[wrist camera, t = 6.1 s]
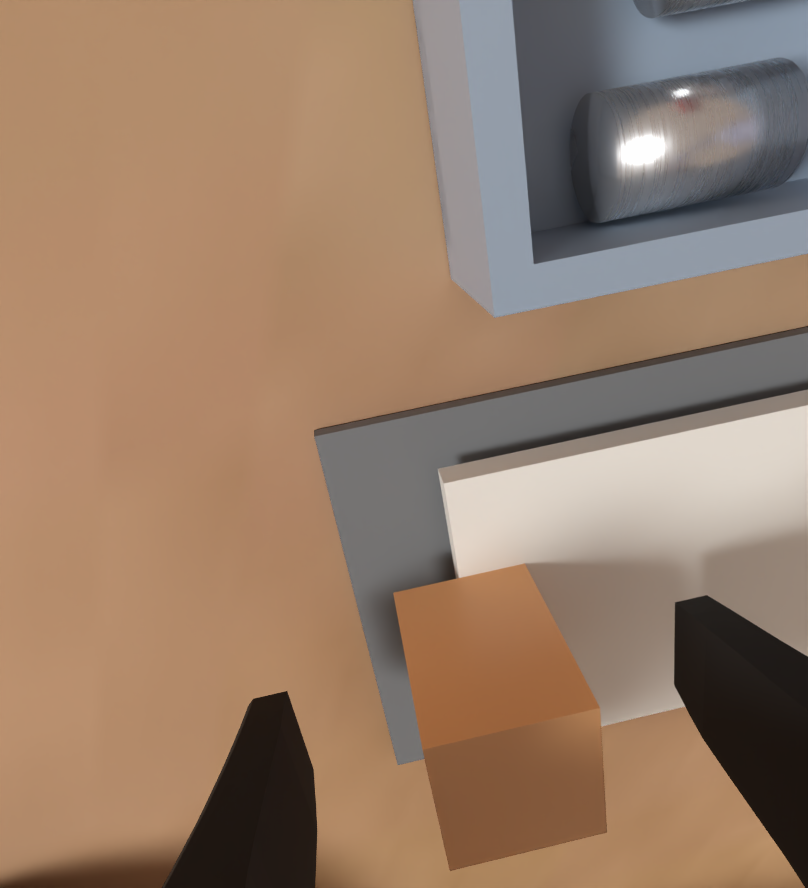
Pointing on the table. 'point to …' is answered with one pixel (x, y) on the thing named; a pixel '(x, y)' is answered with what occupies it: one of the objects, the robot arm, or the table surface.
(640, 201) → the dowel
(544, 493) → the lid
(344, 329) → the table surface
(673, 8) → the dowel
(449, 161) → the tub
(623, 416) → the mat
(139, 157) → the table surface
